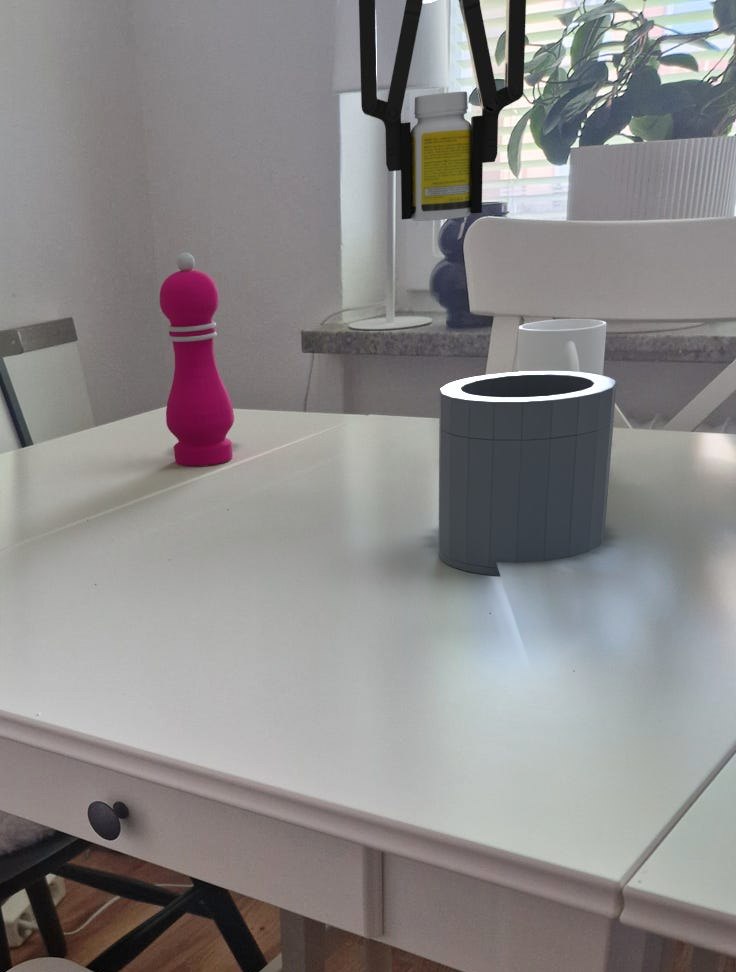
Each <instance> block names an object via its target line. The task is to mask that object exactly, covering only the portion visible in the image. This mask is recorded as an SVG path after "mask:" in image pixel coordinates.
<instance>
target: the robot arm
mask: <svg viewBox="0 0 736 972" xmlns="http://www.w3.org/2000/svg"><path fill="white" fill-rule="evenodd" d="M435 1H436V0H405V5H404V11H403V15H402V16H403V17H402V22H401V26H400V32H399V37H398V43H397V48H396V54H395V58H394V64H393V70H392V75H391V81H390V85H389V91H388V96H387V101H385V100H383V99H380V98H378V62H377V56H378V55H377V14H376V13H377V12H376V11H377V9H376V8H377V6H376V0H358V23H359V25H358V27H359V63H360V67H359V69H360V99H361V100H360V103H361V106H360V107H361V110H362V113H363V114H364V115H365V116H368V117H370V118H374V119H376V120H379V121H381V122H382V123H383V125H384V129H385V165H386V168H387V170H388V172H398V171H400V198H401V199H400V202H401V203H400V204H401V206H400V207H401V208H400V209H401V210H400V211H401V213H400V214H401V220H412V218H411V130H412V128H411V121H409V122H402V111H403V107H404V102H405V96H406V90H407V85H408V82H409V81H408V80H409V76H410V75H409V74H410V71H411V70H410V69H411V65H412V60H413V54H414V49H415V45H416V39H417V34H418V29H419V24H420V18H421V13H422V8H423V4H430V3H433V2H435ZM458 3H459V4H458V5H459V8H460V12H461V13H460V14H461V17H462V22H463V26H464V31H465V36H466V41H467V47H468V51H469V56H470V62H471V67H472V71H473V76H474V82H475V88H476V92H477V96H478V101H479V107H480V115H473V116H471V117H470V118H471V119H470V124H471V127H472V174H471V213H470V214H482V213H483V173H484V172H483V168H484V167H483V166H484V165H483V164H487V163H495V162H496V160H497V156H498V149H499V147H498V146H499V145H498V142H499V116H500V113H501V111H502V110H503V109H505V108H506V107H508V106H509V105H511V104H513V103H515V102H517V101H519V100H520V99H521V98H522V97H523V94H524V89H525V88H524V86H525V56H526V55H525V52H526V49H525V48H526V22H527V21H526V16H527V15H526V14H527V0H506V10H505V13H506V14H505V48H504V49H505V51H504V53H505V54H504V55H505V56H504V87H502V88H500V89H498V90H497V85H496V80H495V79H496V78H495V74H494V69H493V65H492V58H491V54H490V48H489V44H488V38H487V33H486V28H485V23H484V17H483V13H482V8H481V7H482V6H481V0H458Z"/></svg>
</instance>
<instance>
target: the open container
mask: <svg viewBox="0 0 736 972" xmlns="http://www.w3.org/2000/svg"><path fill="white" fill-rule="evenodd" d="M617 384H618V383H617V381H615V379H613V378H612V377H610V376H605V375H603V376H602V375H597V374H590V373H582V372H566V371H530V372H529V371H528V372H517V371H514V372H512V371H511V372H502V373H491V374H484V375H477V376H472V377H467V378H462V379H459V380H455V381H452V382H449V383H446V384H445V385H444V386H442V387H440V389H439V414H438V416H439V422H438V424H439V427H438V428H439V429H438V430H439V431H438V531H437V533H438V538H437V539H438V541H437V543H438V556H439V559H440V560H441V561H442V562H443V563H445V564H446V565H448V566H450V567H452V568H455V569H458V570H461V571H465V572H468V573H473V574H480V575H487V576H495V577H497V576H499V577H500V576H501V573H500V570H499V567H498V564H497V562H499V563H533V562H547V561H554V560H561V559H566V558H567V559H568V558H571V557H576V556H579V555H582V554H585V553H589V552H590V551H592V550H595V549H597V548H598V547H600V546H601V545H602V544H603V541H604V539H605V533H606V521H607V520H606V518H607V510H608V509H607V507H608V495H609V484H610V473H611V472H610V471H611V460H612V459H611V458H612V449H613V448H612V447H613V433H614V422H615V421H614V420H615V410H616V409H615V407H616V399H617V398H616V397H617V386H618V385H617Z"/></svg>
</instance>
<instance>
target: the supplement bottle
mask: <svg viewBox="0 0 736 972" xmlns="http://www.w3.org/2000/svg"><path fill="white" fill-rule="evenodd" d="M468 104H469V103H468V92H467V91H451V92H441V93H433V94H426V95H419V96H415V98H414V112H413V115H414V119H416V120H417V123H416V124H415V125H414V126H413V127H412V128H411V220H412V221H413V222H424V221H425V222H427V221H442V220H453V219H460V218H467V217H469V216H470V215H471V214H472V213H471V174H472V127H471V121H469V120H467V119H465V114H467V113H468V109H469V105H468Z"/></svg>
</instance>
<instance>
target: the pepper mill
mask: <svg viewBox="0 0 736 972" xmlns="http://www.w3.org/2000/svg"><path fill="white" fill-rule="evenodd" d="M195 265H196V264H195V257H194V256H193V255H192V254H191V253H189V252H182V253H180V254H179V255H178V257H177V258H176V266H177V268H178V269H179V271H175V272H173V273H171V274H170V275H168V276H167V277H166V278H165V279H164V281H163V282H162V284H161V286H160V289H159V306H160V307H159V308H160V310H161V312H162V314H163V315H164V316H165V317H166V318H167V320H168V321H169V323H170V324H169V325H168V326H167V328H166V329H167V331H168V337H167V339H168V341H170V342H172V348H173V353H174V370H173V379H172V383H171V386H170V390H169V394H168V399H167V402H166V409H165V419H166V420H165V423H166V427H167V428H168V431H169V432H170V433H171V434H172V436H174V437H175V438H176V440H177V443H175V444H174V445H173V453H174V462H175V464H177V465H178V466H183V467H195V468H196V467H208V466H215V465H220V464H224V463H227V462H229V461H231V460H232V459H233V457H234V455H233V454H234V452H233V443H232V440H231V439H229V438H227V435H228V433H229V432H230V430H231V429H232V427H233V425H234V422H235V411H234V407H233V404H232V400H231V397H230V395H229V393H228V390H227V389H226V386H225V384H224V382H223V380H222V377H221V375H220V373H219V370H218V366H217V363H216V358H215V350H214V348H215V347H214V338H216V337H217V336H218V333H217V331H216V328H215V327H216V326H217V323H216V322H215V321H214V320H213V317H214V315H215V313H216V312H217V310H218V307H219V304H220V302H219V301H220V296H219V290H218V287H217V285H216V282H215V281H214V279H213V278H212V277H211V276H210V275H209V274H207V273H206V272H203V271H201V270H197V269H194V268H195Z"/></svg>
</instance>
